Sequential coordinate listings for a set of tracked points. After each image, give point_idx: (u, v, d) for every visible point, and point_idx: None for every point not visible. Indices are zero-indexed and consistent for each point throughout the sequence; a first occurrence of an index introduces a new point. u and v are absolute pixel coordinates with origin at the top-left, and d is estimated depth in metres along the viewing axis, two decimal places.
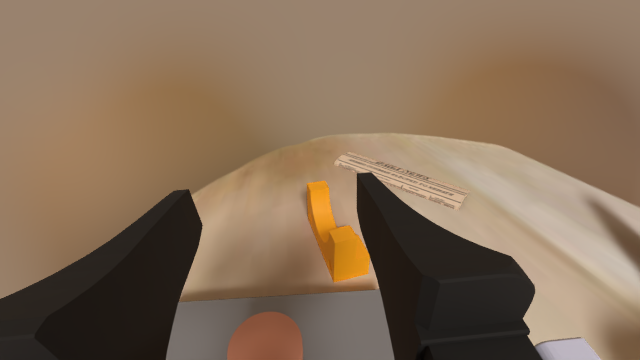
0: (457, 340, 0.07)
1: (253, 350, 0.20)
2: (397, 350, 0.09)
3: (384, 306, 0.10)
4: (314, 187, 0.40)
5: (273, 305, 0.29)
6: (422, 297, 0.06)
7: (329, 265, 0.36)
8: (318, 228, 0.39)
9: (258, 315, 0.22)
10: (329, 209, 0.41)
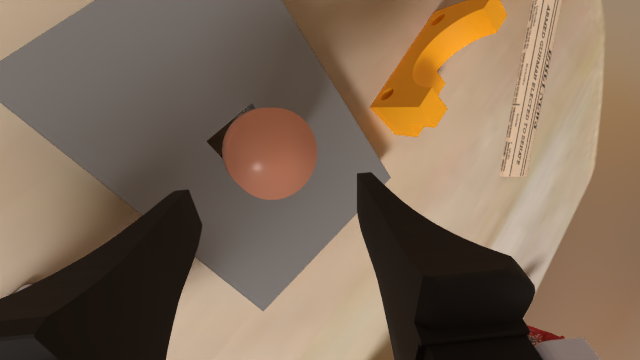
0: (458, 340, 0.07)
1: (263, 148, 0.16)
2: (397, 350, 0.09)
3: (384, 306, 0.10)
4: (491, 9, 0.25)
5: (315, 79, 0.22)
6: (422, 297, 0.06)
7: (386, 91, 0.28)
8: (427, 48, 0.28)
9: (298, 118, 0.16)
10: (460, 46, 0.28)
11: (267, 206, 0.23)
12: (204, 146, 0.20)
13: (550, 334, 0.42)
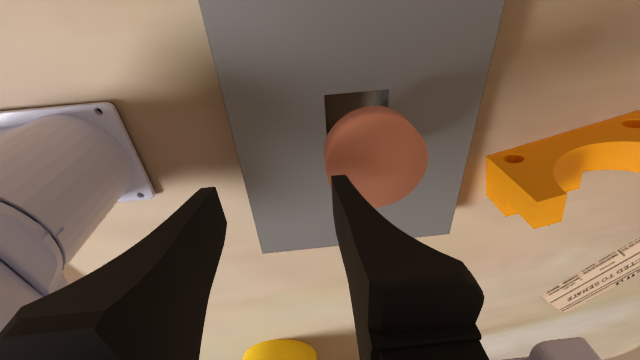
0: (408, 345, 0.07)
1: (371, 155, 0.14)
2: (361, 354, 0.09)
3: (353, 309, 0.10)
4: None
5: (464, 106, 0.19)
6: (371, 302, 0.06)
7: (515, 154, 0.24)
8: (596, 145, 0.23)
9: (424, 150, 0.14)
10: (631, 168, 0.23)
11: None
12: (319, 98, 0.18)
13: None
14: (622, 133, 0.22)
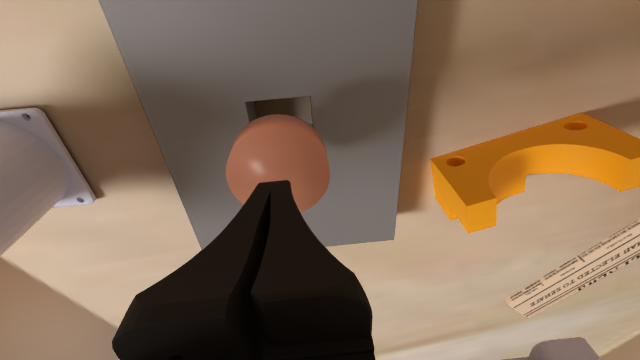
0: (300, 357, 0.07)
1: (270, 164, 0.14)
2: None
3: None
4: (639, 166, 0.19)
5: (390, 113, 0.19)
6: (258, 314, 0.06)
7: (457, 157, 0.24)
8: (535, 148, 0.22)
9: (323, 160, 0.14)
10: (571, 171, 0.22)
11: None
12: (240, 105, 0.18)
13: None
14: (562, 136, 0.22)
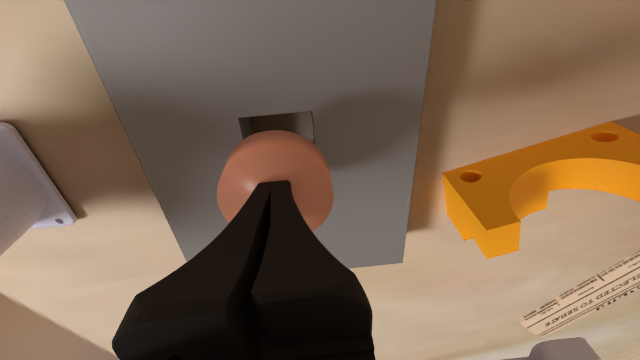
0: (300, 356, 0.07)
1: None
2: None
3: None
4: None
5: (401, 129, 0.17)
6: (258, 314, 0.06)
7: (472, 171, 0.22)
8: (560, 162, 0.20)
9: (326, 182, 0.13)
10: (601, 187, 0.20)
11: None
12: (232, 121, 0.16)
13: None
14: (590, 148, 0.20)
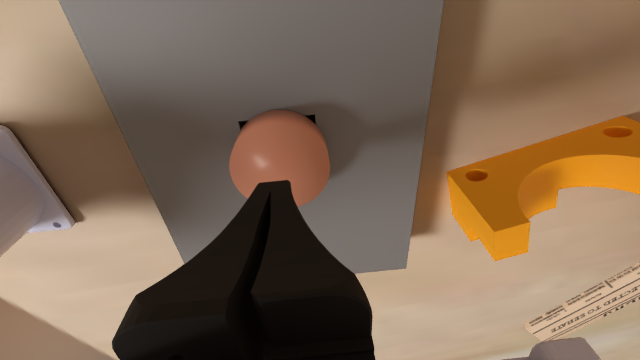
0: (300, 356, 0.07)
1: (272, 158, 0.15)
2: None
3: None
4: None
5: (406, 133, 0.17)
6: (259, 314, 0.06)
7: (478, 169, 0.21)
8: (571, 159, 0.19)
9: (324, 154, 0.15)
10: (614, 185, 0.19)
11: None
12: (232, 125, 0.16)
13: None
14: (602, 144, 0.19)
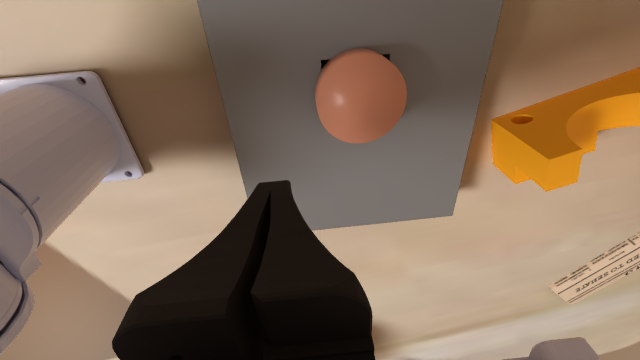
0: (300, 356, 0.07)
1: (356, 89, 0.16)
2: None
3: None
4: None
5: (469, 74, 0.18)
6: (258, 314, 0.06)
7: (522, 115, 0.23)
8: (612, 99, 0.21)
9: (403, 86, 0.16)
10: None
11: (326, 158, 0.21)
12: (315, 63, 0.17)
13: None
14: None
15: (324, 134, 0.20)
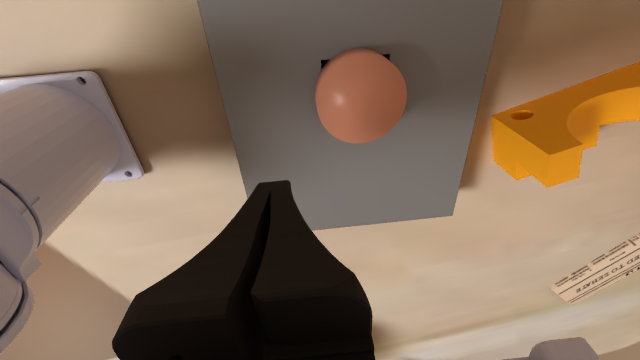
0: (300, 356, 0.07)
1: (356, 89, 0.16)
2: None
3: None
4: None
5: (469, 74, 0.18)
6: (258, 314, 0.06)
7: (523, 111, 0.22)
8: (613, 93, 0.20)
9: (403, 86, 0.16)
10: None
11: (326, 158, 0.21)
12: (315, 63, 0.17)
13: None
14: None
15: (324, 134, 0.20)
